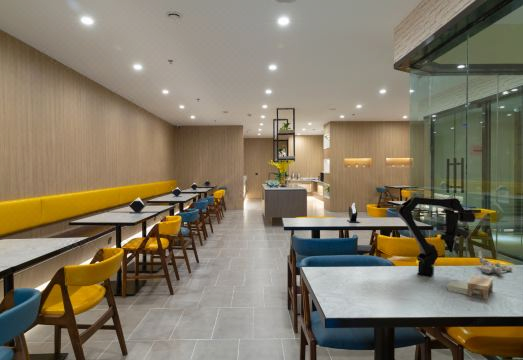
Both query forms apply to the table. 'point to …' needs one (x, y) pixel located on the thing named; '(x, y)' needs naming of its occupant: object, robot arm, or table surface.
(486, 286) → the wooden block
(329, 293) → the table surface
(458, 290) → the cream rectangular block
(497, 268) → the anatomical model
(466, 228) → the robot arm
